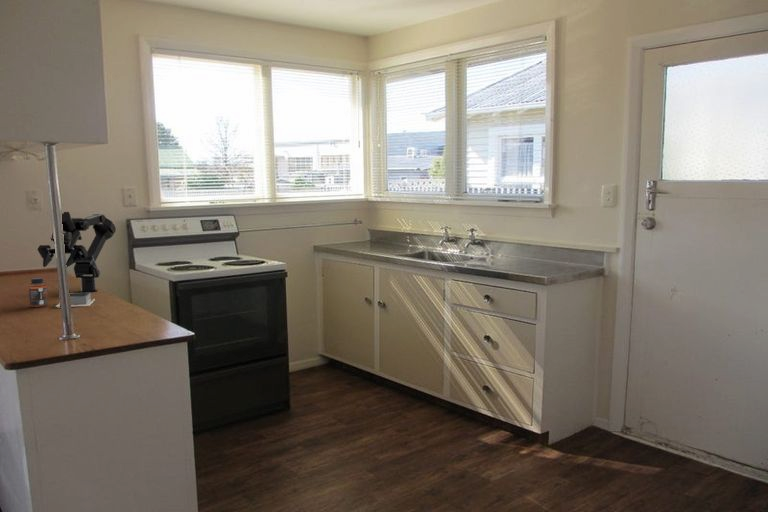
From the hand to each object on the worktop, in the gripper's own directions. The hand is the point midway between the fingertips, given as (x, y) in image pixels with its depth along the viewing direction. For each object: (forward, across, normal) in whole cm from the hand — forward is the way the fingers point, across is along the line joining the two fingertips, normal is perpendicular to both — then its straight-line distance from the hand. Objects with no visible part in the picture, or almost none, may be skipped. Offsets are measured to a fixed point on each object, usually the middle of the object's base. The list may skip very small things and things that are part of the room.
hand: (55, 266), depth 250 cm
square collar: (+11, +9, +10) cm, 18 cm away
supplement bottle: (+16, -3, +7) cm, 17 cm away
